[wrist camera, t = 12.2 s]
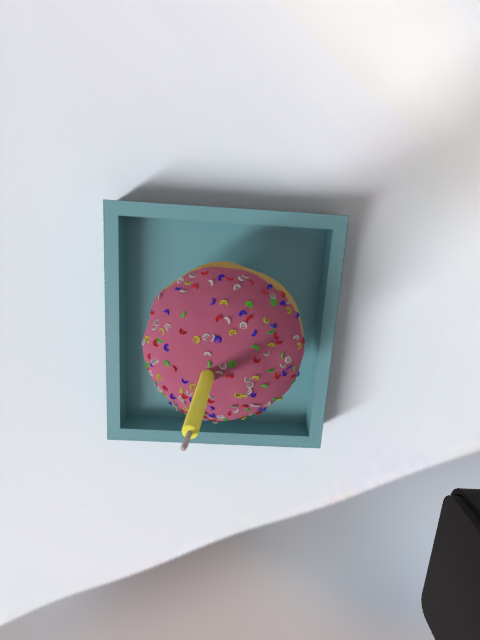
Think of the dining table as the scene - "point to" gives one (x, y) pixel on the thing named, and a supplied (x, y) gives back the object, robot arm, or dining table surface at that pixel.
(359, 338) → the dining table surface
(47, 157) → the dining table surface
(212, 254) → the tray
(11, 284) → the dining table surface
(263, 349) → the cupcake
